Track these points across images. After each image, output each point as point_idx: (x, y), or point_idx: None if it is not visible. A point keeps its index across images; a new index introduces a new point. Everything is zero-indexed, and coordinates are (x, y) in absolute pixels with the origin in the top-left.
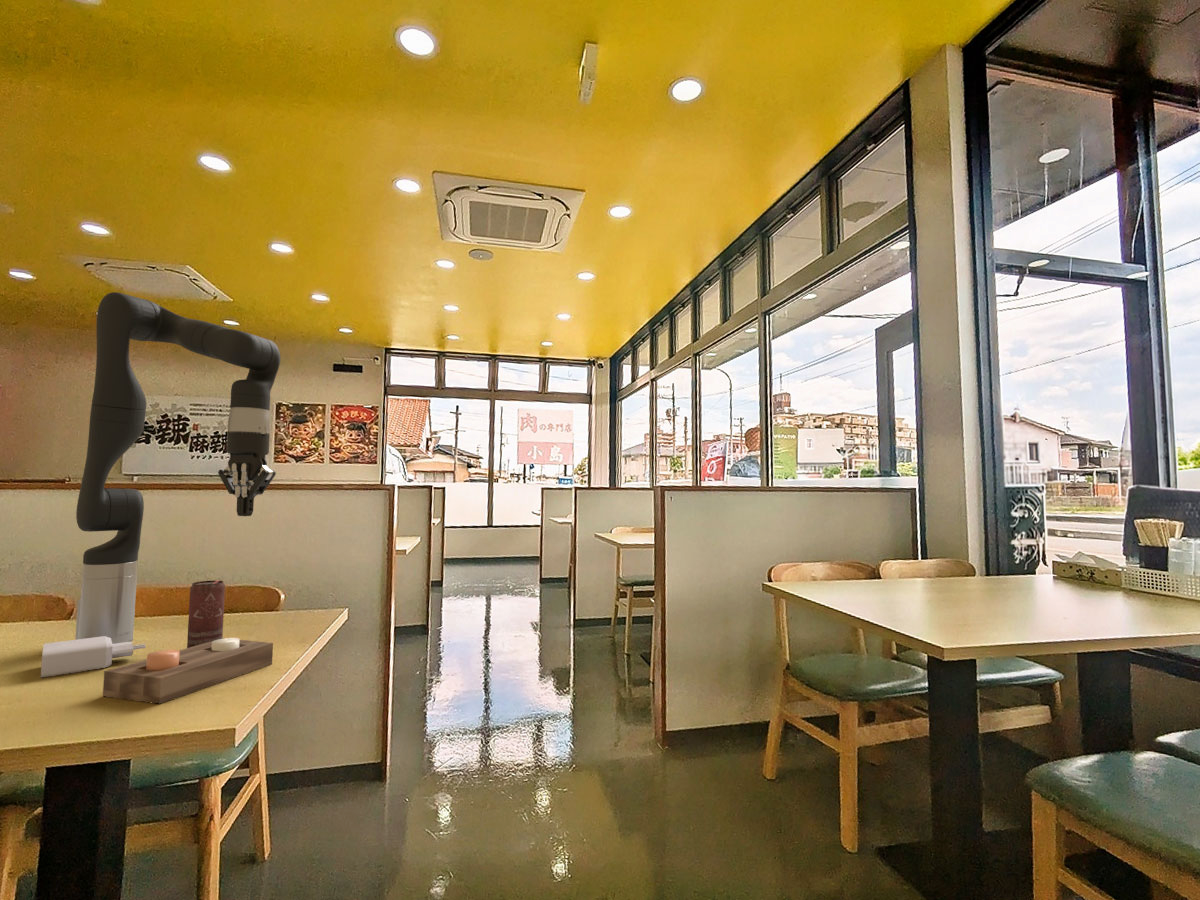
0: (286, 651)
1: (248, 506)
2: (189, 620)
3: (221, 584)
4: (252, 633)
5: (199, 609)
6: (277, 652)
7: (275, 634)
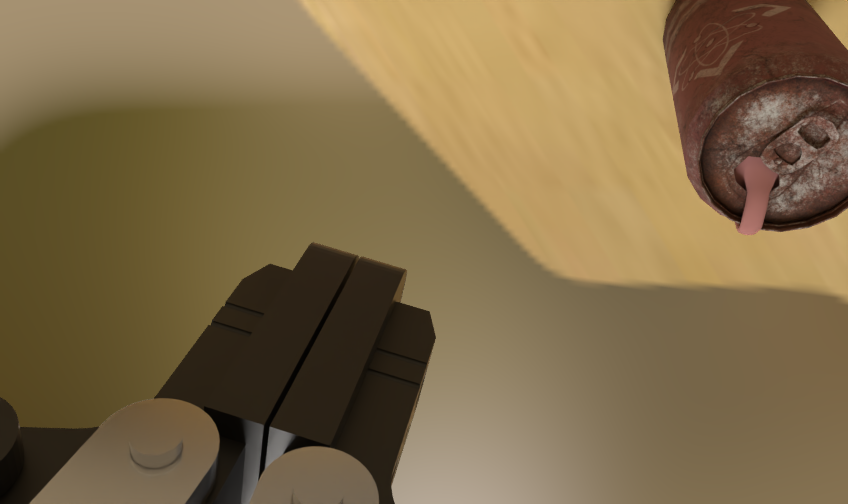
0: (377, 29)
1: (213, 329)
2: (815, 15)
3: (694, 153)
4: (666, 275)
5: (760, 17)
6: (402, 13)
7: (565, 260)
